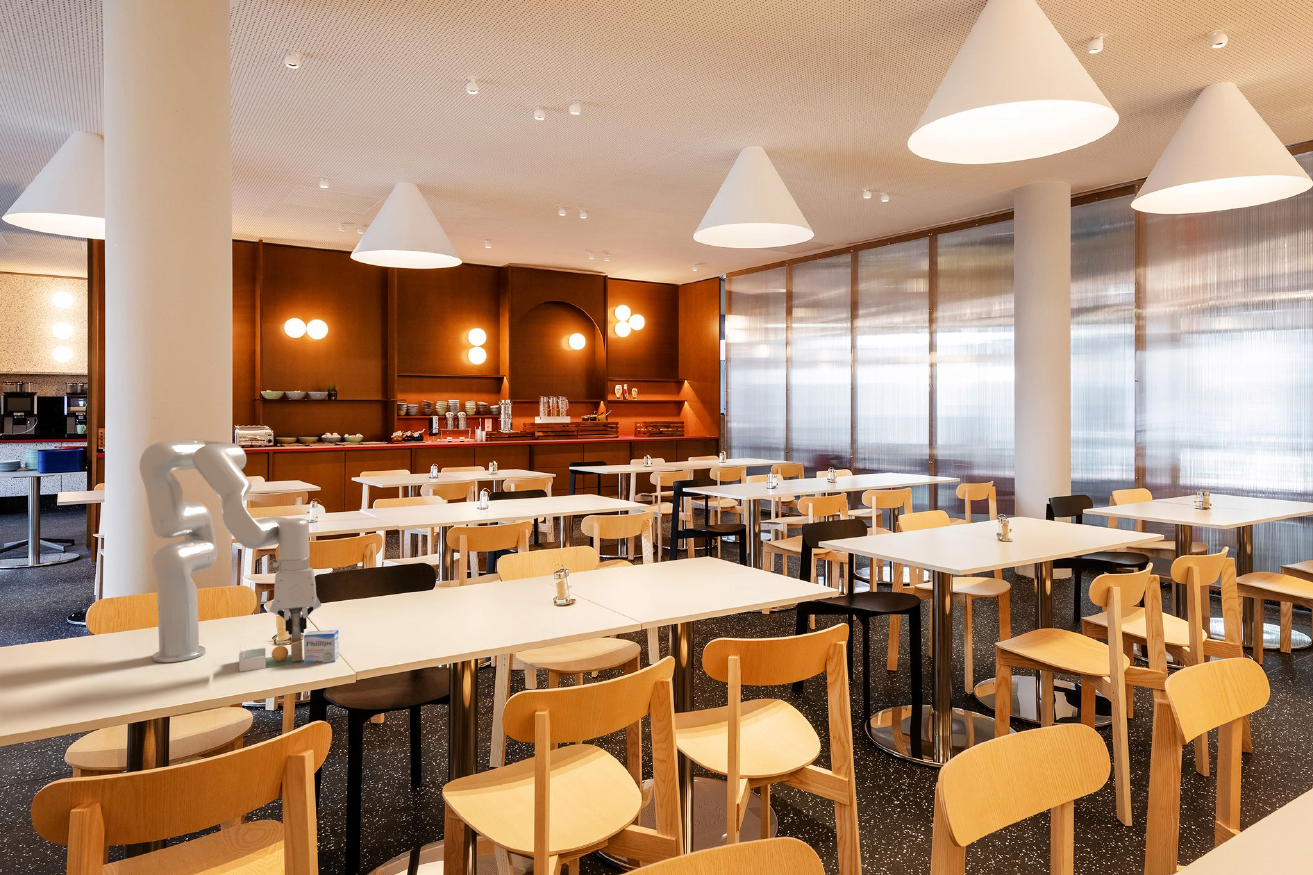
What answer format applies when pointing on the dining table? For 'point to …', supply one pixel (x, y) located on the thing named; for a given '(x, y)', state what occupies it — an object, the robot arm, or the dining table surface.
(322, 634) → the medicine box
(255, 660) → the pitch
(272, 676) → the dining table surface
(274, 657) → the ball
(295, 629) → the striker
